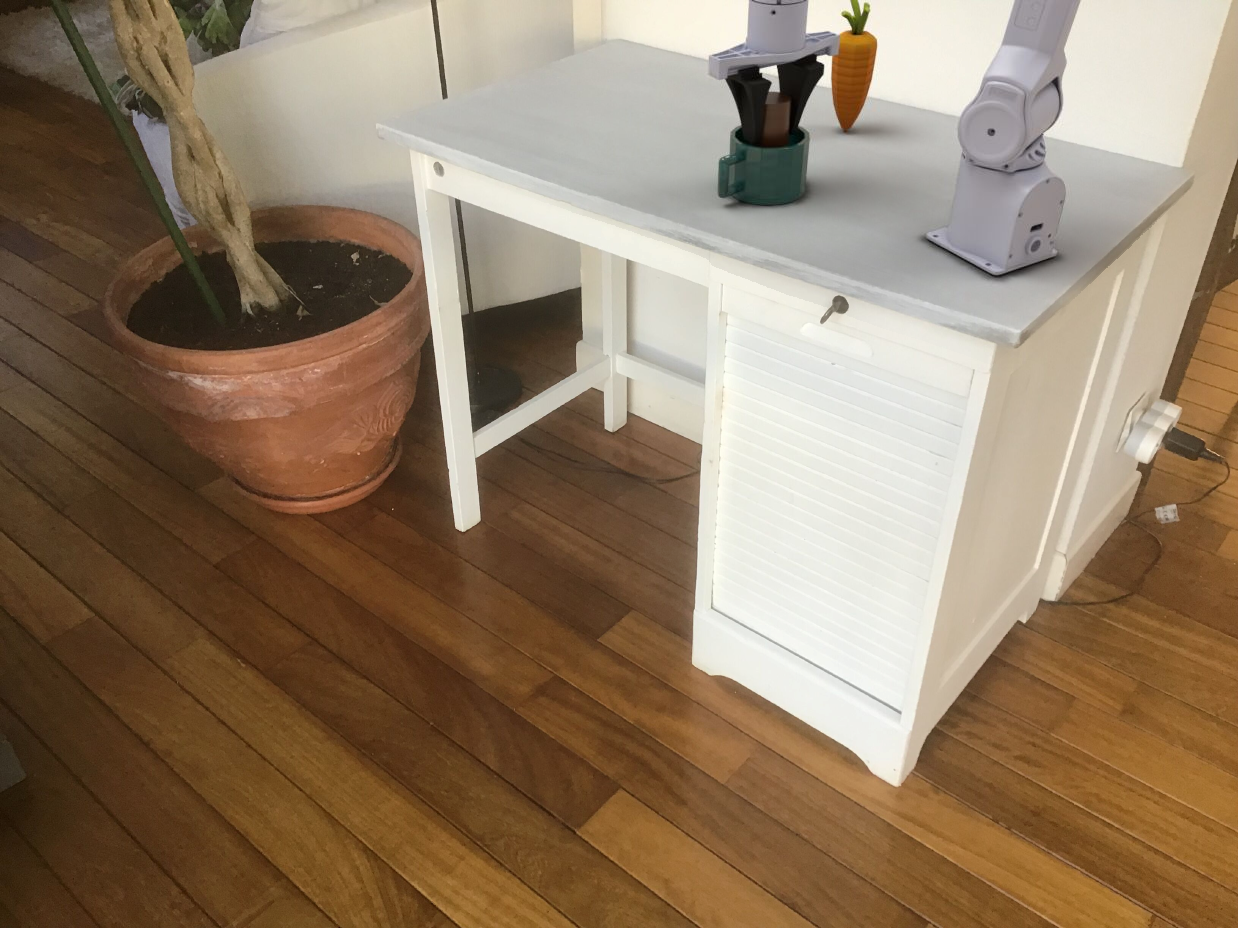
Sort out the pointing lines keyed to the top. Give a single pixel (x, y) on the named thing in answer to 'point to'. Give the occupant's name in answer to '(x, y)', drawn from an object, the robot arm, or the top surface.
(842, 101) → the carrot
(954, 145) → the top surface
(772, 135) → the walnut peg
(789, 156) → the mug
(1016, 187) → the robot arm
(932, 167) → the top surface
